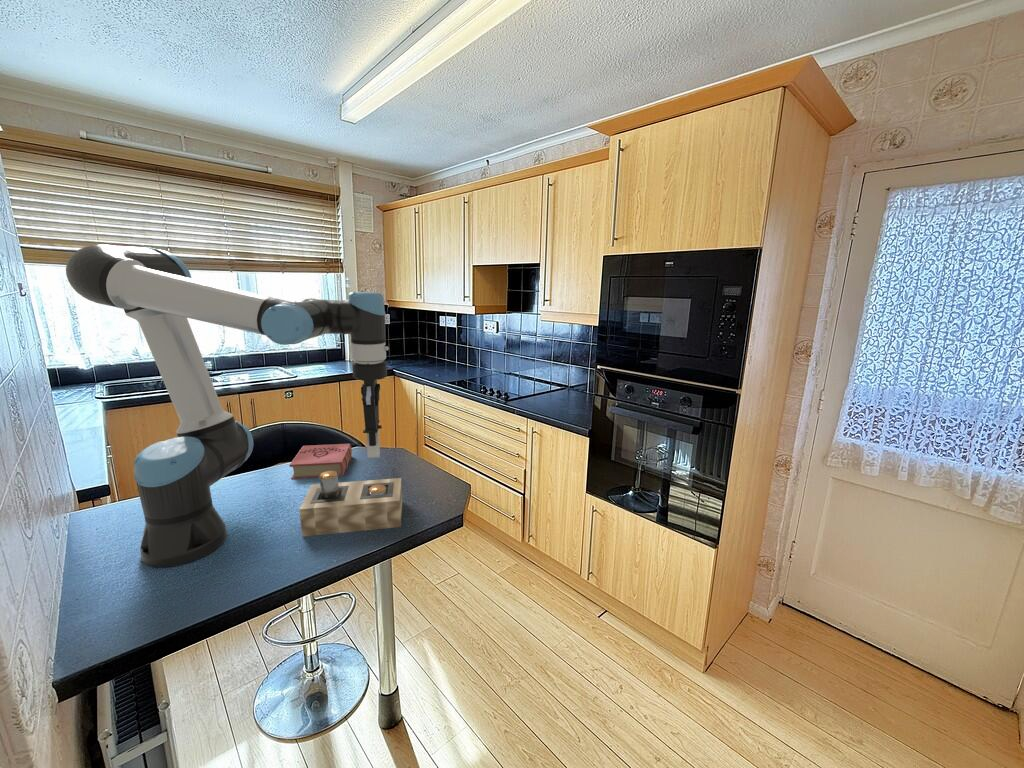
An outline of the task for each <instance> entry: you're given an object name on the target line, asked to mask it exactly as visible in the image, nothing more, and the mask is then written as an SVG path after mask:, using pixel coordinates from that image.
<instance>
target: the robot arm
mask: <svg viewBox="0 0 1024 768" xmlns="http://www.w3.org/2000/svg"><path fill="white" fill-rule="evenodd" d="M65 276H66V278H67V281H68V283H69V285H70V286H71V288H72V289H73V290H74V291H75V292H76V293H77V294H78V295H80V297H82V298H84V299H86V300H88V301H90V302H93V303H96V304H99V305H104V306H109V307H113V308H118V309H122V310H123V311H124V313H125V315H126V317H129V318H131V319H133V320H135V321H136V322H138V324H139V326H140V329H141V332H142V333H143V337H144V338H145V341H146V343H147V345H148V348H149V350H150V353H151V354H152V358H153V359H154V362H155V364H156V366H157V369H158V371H159V374H160V377H161V379H162V381H163V383H164V386H165V388H166V390H167V393H168V395H169V398H170V400H171V403H172V405H173V407H174V409H175V412H176V414H177V416H178V419H179V421H180V423H179V425H178V428H177V429H176V430H175V433H176V435H177V437H176V436H175V437H170V438H167V439H166V440H164V441H162V440H161V441H157V442H155V443H153V444H150V445H148V446H147V447H145V448H144V449H142V450H141V451H140V452H138V454H137V455H136V457H135V458H134V461H133V462H134V463H133V464H134V465H133V466H134V467H133V468H134V479H135V482H136V486H137V491H138V494H139V498H140V504H141V508H142V513H143V516H144V521H145V524H144V525H145V526H144V530H143V533H142V539H141V544H140V547H139V549H140V550H139V551H140V552H139V553H140V557H141V561H142V562H143V563H144V565H147V566H149V567H152V568H168V567H175V566H180V565H183V564H188V563H191V562H193V561H196V560H198V559H201V558H203V557H206V556H207V555H209V554H211V553H212V552H214V551H216V550H217V549H218V548H220V547H221V546H222V544H223V543H225V541H226V539H227V536H228V532H227V525H226V523H225V522H224V520H223V519H222V517H221V515H220V514H219V513H218V511H217V509H216V508H215V507H214V504H213V499H212V493H211V486H212V485H214V484H215V483H217V482H218V481H220V480H222V479H223V478H224V477H225V476H227V475H228V474H231V473H232V472H233V471H235V470H237V469H238V468H240V467H241V466H242V465H243V464H244V463H245V462H246V461H247V460H248V458H250V456H251V454H252V452H253V449H254V438H253V434H252V433H251V431H250V429H249V428H248V427H247V426H246V425H243V424H242V422H240V421H237V420H235V417H234V415H233V413H231V412H228V411H226V410H224V409H223V407H222V405H221V402H220V400H219V399H220V398H219V396H218V394H217V391H216V389H215V386H214V383H213V381H212V379H211V375H210V374H209V370H208V369H207V365H206V363H205V360H204V358H203V355H202V353H201V350H200V348H199V345H198V343H197V340H196V338H195V337H196V336H195V335H194V332H193V330H192V328H191V324H190V323H189V320H188V319H192V320H195V321H199V322H204V323H209V324H213V325H218V326H223V327H227V328H231V329H236V330H240V331H245V332H249V333H254V334H258V335H262V336H266V337H267V338H268V339H269V340H270V341H272V342H273V343H274V344H277V345H278V344H279V345H282V346H283V345H284V346H286V345H297V344H301V343H303V342H304V341H308V340H309V339H314V338H317V337H321V336H323V335H350V352H351V354H350V355H351V360H352V361H353V362H352V364H351V365H352V378H353V379H356V380H359V381H363V383H362V384H361V387H360V394H361V396H362V397H361V401H362V406H363V419H364V420H363V421H364V429H362V430H363V431H362V433H363V434H365V435H366V448H367V449H366V451H367V458H369V459H371V458H380V456H381V453H380V452H381V449H380V447H381V446H380V429H382V428H383V427H382V426H383V425H379V424H380V416H379V415H380V414H379V413H380V411H379V410H380V407H379V405H380V404H379V403H380V390H381V383H378V380H383V379H386V377H387V376H388V365H387V361H385V360H386V359H387V351H389V349H390V348H389V346H387V345H386V340H387V339H386V315H387V314H386V311H385V301H384V299H385V298H384V296H383V295H382V294H381V293H380V292H377V291H376V292H375V291H351V292H349V293H348V298H347V299H345V300H339V299H338V300H335V299H322V298H321V299H319V298H318V299H317V298H312V297H311V298H300V299H297V300H295V301H288V300H284V299H281V298H275V297H272V296H268V295H267V296H266V295H263V294H258V293H254V292H251V291H246V290H242V289H237V288H233V287H229V286H224V285H220V284H218V283H217V284H215V283H212V282H208V281H202V280H199V279H194V278H192V275H191V273H190V270H189V269H188V267H187V265H186V264H185V263H184V262H183V260H181V259H180V258H179V257H178V256H176V255H174V254H173V253H172V252H169V251H167V250H163V249H160V248H159V249H158V248H153V247H150V246H142V247H141V246H124V245H112V244H102V243H101V244H92V245H86V246H84V247H82V248H80V249H78V250H76V251H75V252H73V253H72V255H71V256H70V257H69V258H68V260H67V262H66V266H65Z"/></svg>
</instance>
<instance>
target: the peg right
mask: <svg viewBox="0 0 1024 768" xmlns="http://www.w3.org/2000/svg"><path fill="white" fill-rule="evenodd" d="M384 494H386V487H385V486H384V485H374V486H372V487H370V488H369V496H372V495H384Z"/></svg>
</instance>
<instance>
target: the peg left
mask: <svg viewBox="0 0 1024 768" xmlns="http://www.w3.org/2000/svg"><path fill="white" fill-rule="evenodd" d="M338 477H339V476H338V474H337V472H335V471H326V472H323V473H321V474H320V476H319V478H318V479H319V484H320V488H321V498H322V500H324V499H336V498H340V497H339V486H338V483H339V478H338Z"/></svg>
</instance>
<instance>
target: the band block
mask: <svg viewBox="0 0 1024 768" xmlns="http://www.w3.org/2000/svg"><path fill="white" fill-rule="evenodd" d="M374 485H384V486H385V487H386V494H384V495H372V496H369V488H370V487H372V486H374ZM338 486H339V497H340V498H336V499H324V500H322V498H321V488H320V483H317V484H314V483H313V484H311V485H310V487H309V489H308V492H307V493H306V495H305V497H304V499H303V501H302V503H301V504H300V507H299V517H300V519H299V520H300V526H301V536H302V538H303V537H311V536H313V537H314V536H321V535H331V534H333V535H334V534H342V533H353V532H361V531H372V530H384V529H392V528H394V529H395V528H401V527H402V514H403V489H402V488H403V487H402V477H395V478H384V479H383V478H382V479H372V480H371V479H368V480H357V481H355V480H354V481H345V482H338Z"/></svg>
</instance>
